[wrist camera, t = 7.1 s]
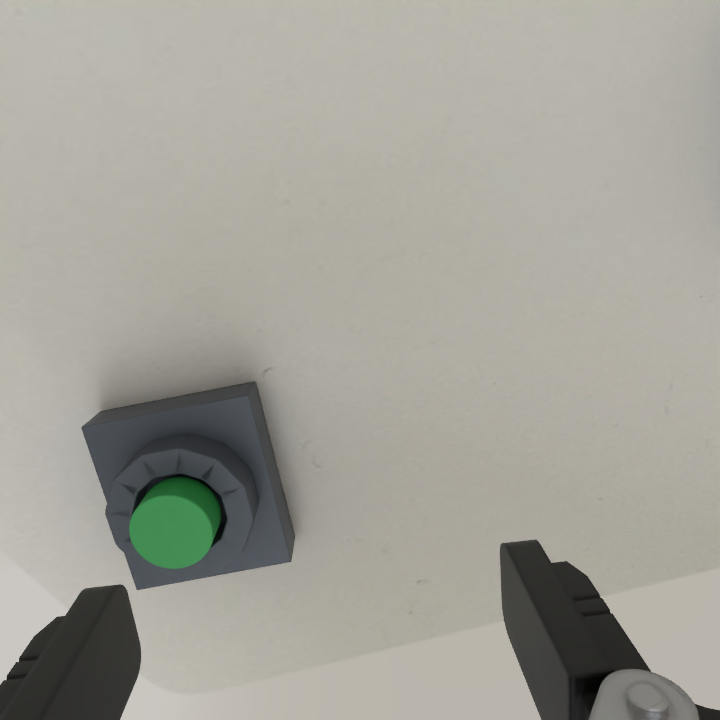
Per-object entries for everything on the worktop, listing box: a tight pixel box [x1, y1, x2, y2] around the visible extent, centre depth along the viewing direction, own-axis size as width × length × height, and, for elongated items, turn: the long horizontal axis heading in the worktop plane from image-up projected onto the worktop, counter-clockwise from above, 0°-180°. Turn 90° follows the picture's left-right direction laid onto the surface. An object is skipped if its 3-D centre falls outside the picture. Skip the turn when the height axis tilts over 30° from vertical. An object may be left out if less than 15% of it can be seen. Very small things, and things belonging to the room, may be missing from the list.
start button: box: [129, 477, 221, 569], centre depth 25 cm, size 4×4×2 cm
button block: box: [82, 382, 295, 590], centre depth 28 cm, size 9×8×4 cm
